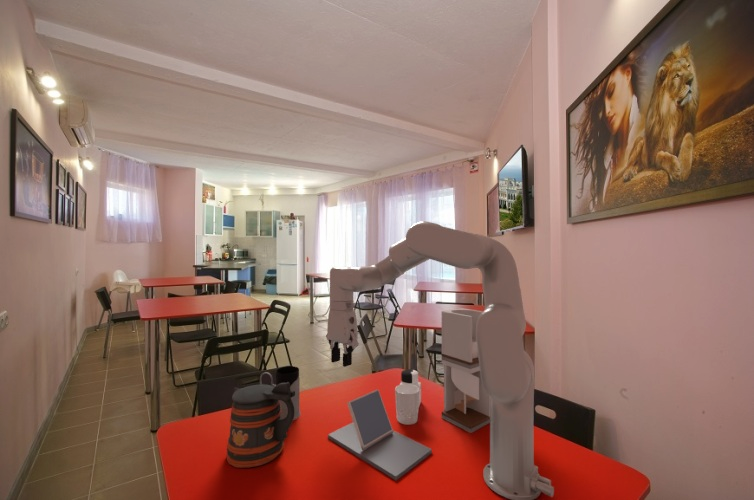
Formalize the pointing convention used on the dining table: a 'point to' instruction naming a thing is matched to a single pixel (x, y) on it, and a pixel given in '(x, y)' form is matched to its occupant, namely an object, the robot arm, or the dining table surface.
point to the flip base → (383, 451)
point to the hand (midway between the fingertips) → (341, 362)
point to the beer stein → (258, 424)
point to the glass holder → (293, 378)
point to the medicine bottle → (411, 379)
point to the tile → (370, 418)
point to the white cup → (407, 403)
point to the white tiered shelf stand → (463, 372)
